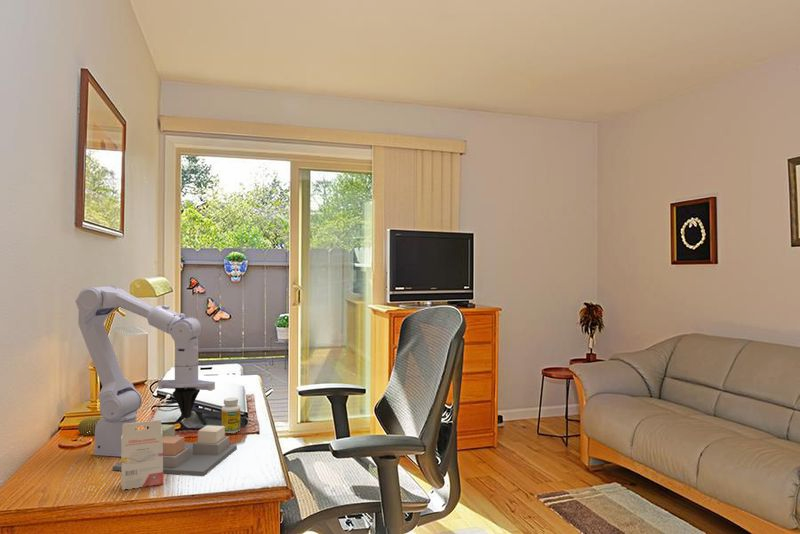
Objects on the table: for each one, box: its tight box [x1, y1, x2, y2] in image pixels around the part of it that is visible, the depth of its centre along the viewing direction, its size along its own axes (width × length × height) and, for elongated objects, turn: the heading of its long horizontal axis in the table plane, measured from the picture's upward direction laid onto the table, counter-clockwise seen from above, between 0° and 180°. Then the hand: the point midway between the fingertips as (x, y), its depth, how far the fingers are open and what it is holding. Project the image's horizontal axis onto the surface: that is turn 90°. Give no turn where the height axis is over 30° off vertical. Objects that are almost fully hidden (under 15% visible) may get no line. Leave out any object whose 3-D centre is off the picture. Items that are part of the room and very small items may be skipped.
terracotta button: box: [163, 436, 186, 456], centre depth 138 cm, size 5×5×4 cm
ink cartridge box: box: [120, 419, 164, 491], centre depth 127 cm, size 9×5×15 cm, turn 114°
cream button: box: [197, 424, 226, 444], centre depth 147 cm, size 5×5×4 cm
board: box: [112, 434, 238, 477], centre depth 143 cm, size 23×19×4 cm
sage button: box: [161, 423, 176, 437], centre depth 148 cm, size 5×5×4 cm
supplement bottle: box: [221, 397, 241, 434], centre depth 166 cm, size 5×5×10 cm
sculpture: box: [77, 416, 103, 436], centre depth 164 cm, size 8×4×8 cm
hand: (186, 416), depth 146 cm, fingers closed
